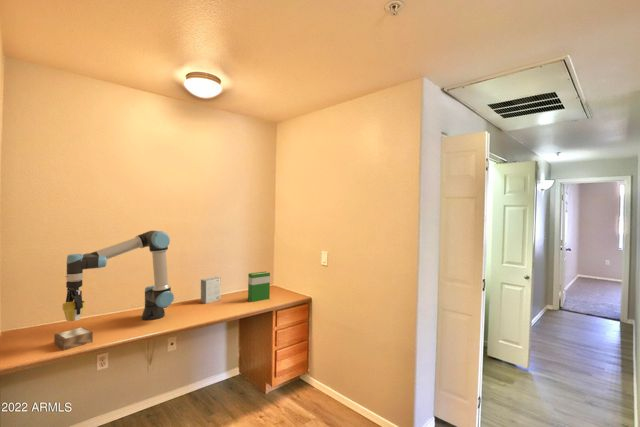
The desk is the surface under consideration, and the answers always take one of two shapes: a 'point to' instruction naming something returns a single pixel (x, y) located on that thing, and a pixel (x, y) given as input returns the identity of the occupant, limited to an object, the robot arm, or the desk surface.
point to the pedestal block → (73, 338)
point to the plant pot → (71, 310)
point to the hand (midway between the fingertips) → (73, 318)
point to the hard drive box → (210, 289)
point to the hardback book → (258, 286)
